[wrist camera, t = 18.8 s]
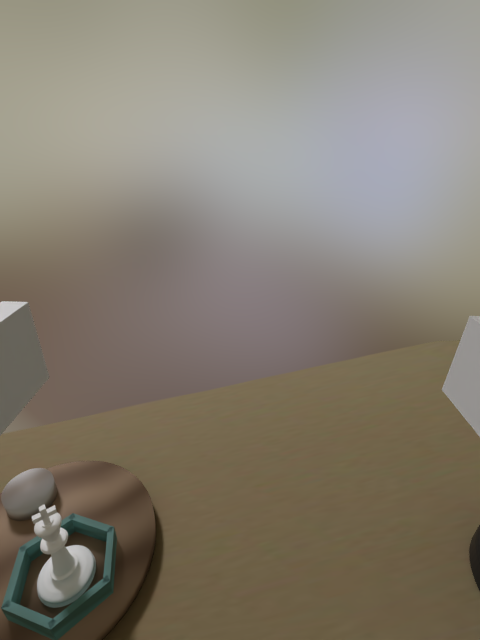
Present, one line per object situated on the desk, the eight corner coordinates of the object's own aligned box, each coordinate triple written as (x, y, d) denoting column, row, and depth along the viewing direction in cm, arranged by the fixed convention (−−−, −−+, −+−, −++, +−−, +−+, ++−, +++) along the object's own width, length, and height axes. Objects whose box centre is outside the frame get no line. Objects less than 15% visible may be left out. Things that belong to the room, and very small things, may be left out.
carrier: (193, 555, 35) (192, 535, 33) (-52, 780, 22) (-73, 765, 21) (106, 443, 47) (102, 425, 46) (-82, 547, 35) (-97, 526, 33)
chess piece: (102, 583, 31) (82, 515, 26) (42, 621, 28) (8, 554, 24) (88, 538, 35) (68, 471, 30) (33, 568, 32) (2, 500, 27)
